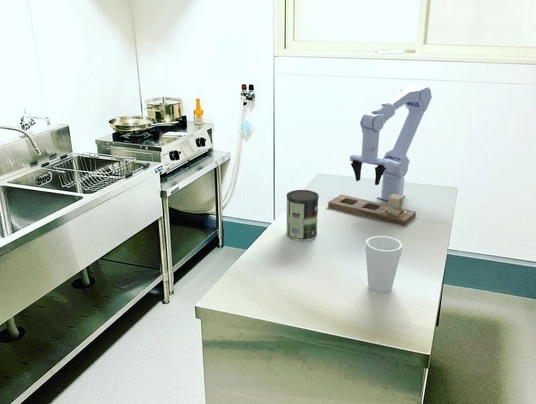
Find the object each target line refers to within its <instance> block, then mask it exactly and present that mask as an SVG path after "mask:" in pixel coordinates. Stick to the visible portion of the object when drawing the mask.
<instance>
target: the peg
mask: <svg viewBox="0 0 536 404" xmlns="http://www.w3.org/2000/svg"><path fill="white" fill-rule="evenodd" d="M404 197H405V196H401V195H396V194H392V195H391V196H389V197H388V200H387V205H388V206H387V213H389V214H393V215H398V216H399V215H401V214H402V209H403V204H404Z"/></svg>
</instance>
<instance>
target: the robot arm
mask: <svg viewBox="0 0 536 404" xmlns="http://www.w3.org/2000/svg"><path fill="white" fill-rule="evenodd" d="M432 97H433V96H432V91H431V89H430V87H428V86H419V85H413V84H408V83H407V84H405V85H404V86H402V87H401V88H400V92H399V93H398V94H397V95H396V96H395V97H394V98H392V100H390V101H389V102H388V101H387V102H386V101H385V102H383V101H382V102H381V105H379V106H378V107H376V108H375V109H373V110H372V111H371V112H366V113H364V114H363V115H362V117H361V120H360V121H359V124H360V127H361V133H362V144H361V145H362V146H361V155H357V154H351V155H349V162H350V161H351V162H350V166H351V168H352V170H353V172H354V176H355V181H356V182H359V181H360V180H361V174H362V166H363V164H369V165H372V166H376V167H374V172H375V174H374V175H375V178H374V185H375V186H378V185H379V184H380V181H381V179H382V181H381V182H382V184H381V192H380V194H379V195H377V199H379V200H385V201H388V197H389V196H391V195H392V194H396V195H401V196H404V197H405V196H406V194H405V193H404V189H405V188H404V187H405V176H406V175H407V173H408V170H409V164H410V162H411V161H410V159H409V157H408V156H407V153H408V151H409V148H410V146H411V144H412V141H413V140H414V137H415V134H416V132H417V131H418V128H419V125H420V123H421V121H422V119H423V116H424V114H425V112H427V109H428V108H429V105H430V103H431V100H432ZM403 106H405V108H406V109H407V110H408V114H407V117H406V119H405V120H404V123H403V125H402V127H401V130H400V132H399V134H398V136H397V139H396V140H395V141H396V142H395V144H394V145H393V148H392V149H390V150H389V151H386V152H385V154H384V156H383V158H378V154H379V142H380V141H379V140H380V133H381V132H380V131H381V130H382V129H383V128H384V125H385V124H386V122H388V120H390V119H391V118H392V117H394V116H395V114H396V111H397V110H398V109H399V108H401V107H403Z"/></svg>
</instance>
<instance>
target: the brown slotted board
mask: <svg viewBox="0 0 536 404" xmlns="http://www.w3.org/2000/svg"><path fill="white" fill-rule="evenodd" d="M327 202H328V203H327V205H328V206H327V207H328V208H331V209H335V210H339V211H343V212H347V213H351V214H355V215H359V216H363V217H367V218H372V219H374V220H379V221H384V222H387V223H392V224H395V225H400V226H404V227H406V226H407V225H408V224H409V223H410V222H412V220H414V218H416V213H417V211H415V210H410V209H406V208H402V214H401V215H399V216H398V215H393V214H389V213H387V206H388V204H385V203H380V202H376V201H373V200H367V199H363V198H359V197H353V196H349V195H345V194H342V193H340V194H339V195H338V196H336V197H334V198H333V199H331V200H329V201H327Z"/></svg>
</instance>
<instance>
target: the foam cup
mask: <svg viewBox="0 0 536 404" xmlns="http://www.w3.org/2000/svg"><path fill="white" fill-rule="evenodd" d="M402 251H403V243H402V241H400V240H399V239H397V238H394V237H391V236H385V235H375V236H371V237H368V238H367V239H366V240H365V250H364V252H365V256H366V257H365V258H366V259H365V260H366V271H367V272H366V273H367V286H368V289H369V290H371V291H373V292H376V293H381V294H384V293H389V292H390V291H392V289H393V285H394V281H395V277H396V273H397V271H398V266H399V262H400V258H401V256H402Z"/></svg>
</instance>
